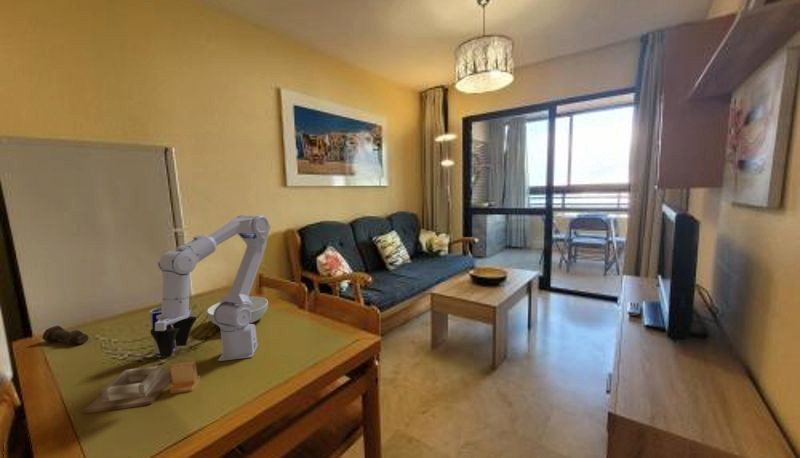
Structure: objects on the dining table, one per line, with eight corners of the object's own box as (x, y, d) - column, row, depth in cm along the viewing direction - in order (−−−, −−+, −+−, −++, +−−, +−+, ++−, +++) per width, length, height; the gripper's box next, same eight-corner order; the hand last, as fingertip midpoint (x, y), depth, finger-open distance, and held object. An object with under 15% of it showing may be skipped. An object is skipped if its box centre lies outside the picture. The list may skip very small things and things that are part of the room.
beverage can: (165, 359, 98) (159, 312, 96) (151, 358, 99) (145, 311, 97) (179, 351, 103) (174, 306, 101) (166, 349, 104) (160, 305, 102)
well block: (179, 371, 91) (177, 359, 90) (151, 404, 77) (149, 389, 77) (123, 378, 88) (121, 365, 88) (83, 413, 75) (81, 398, 74)
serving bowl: (254, 333, 114) (253, 315, 113) (196, 335, 114) (194, 316, 113) (277, 311, 134) (276, 295, 133) (228, 312, 135) (226, 296, 134)
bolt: (82, 350, 109) (51, 345, 113) (96, 337, 113) (65, 332, 117) (70, 340, 106) (38, 335, 109) (84, 327, 110) (53, 323, 113)
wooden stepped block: (200, 379, 87) (197, 358, 86) (192, 391, 82) (189, 368, 81) (180, 382, 86) (177, 360, 85) (170, 394, 81) (167, 371, 80)
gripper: (173, 292, 89) (171, 341, 89) (141, 304, 75) (139, 362, 75) (200, 292, 90) (199, 340, 90) (174, 303, 76) (172, 361, 76)
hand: (174, 350), depth 83 cm, fingers open, 7 cm apart
